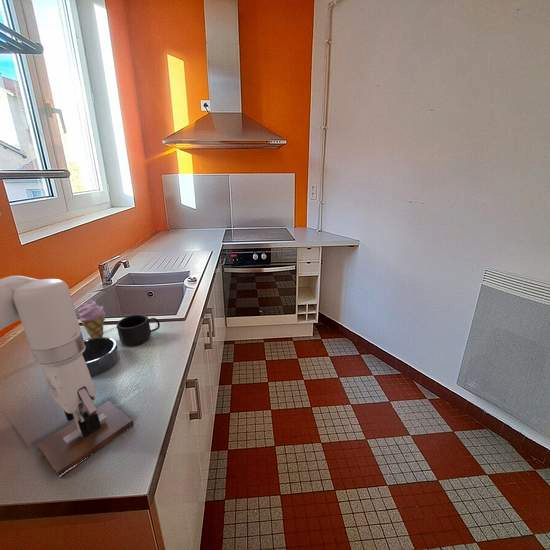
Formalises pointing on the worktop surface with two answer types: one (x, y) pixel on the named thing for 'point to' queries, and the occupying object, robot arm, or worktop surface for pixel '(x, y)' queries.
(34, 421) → the worktop surface
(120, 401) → the worktop surface
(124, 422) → the cutting board
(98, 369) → the round grey bowl
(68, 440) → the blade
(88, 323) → the ice cream cone
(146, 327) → the mug
